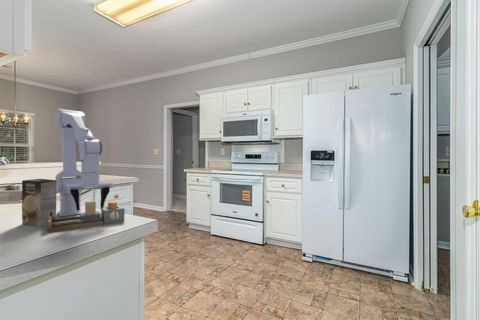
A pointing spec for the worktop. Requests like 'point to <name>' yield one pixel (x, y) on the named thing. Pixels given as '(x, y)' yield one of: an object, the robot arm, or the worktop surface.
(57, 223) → the track
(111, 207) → the button
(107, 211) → the end cabinet
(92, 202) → the carriage
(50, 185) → the coffee box
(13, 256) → the worktop surface
